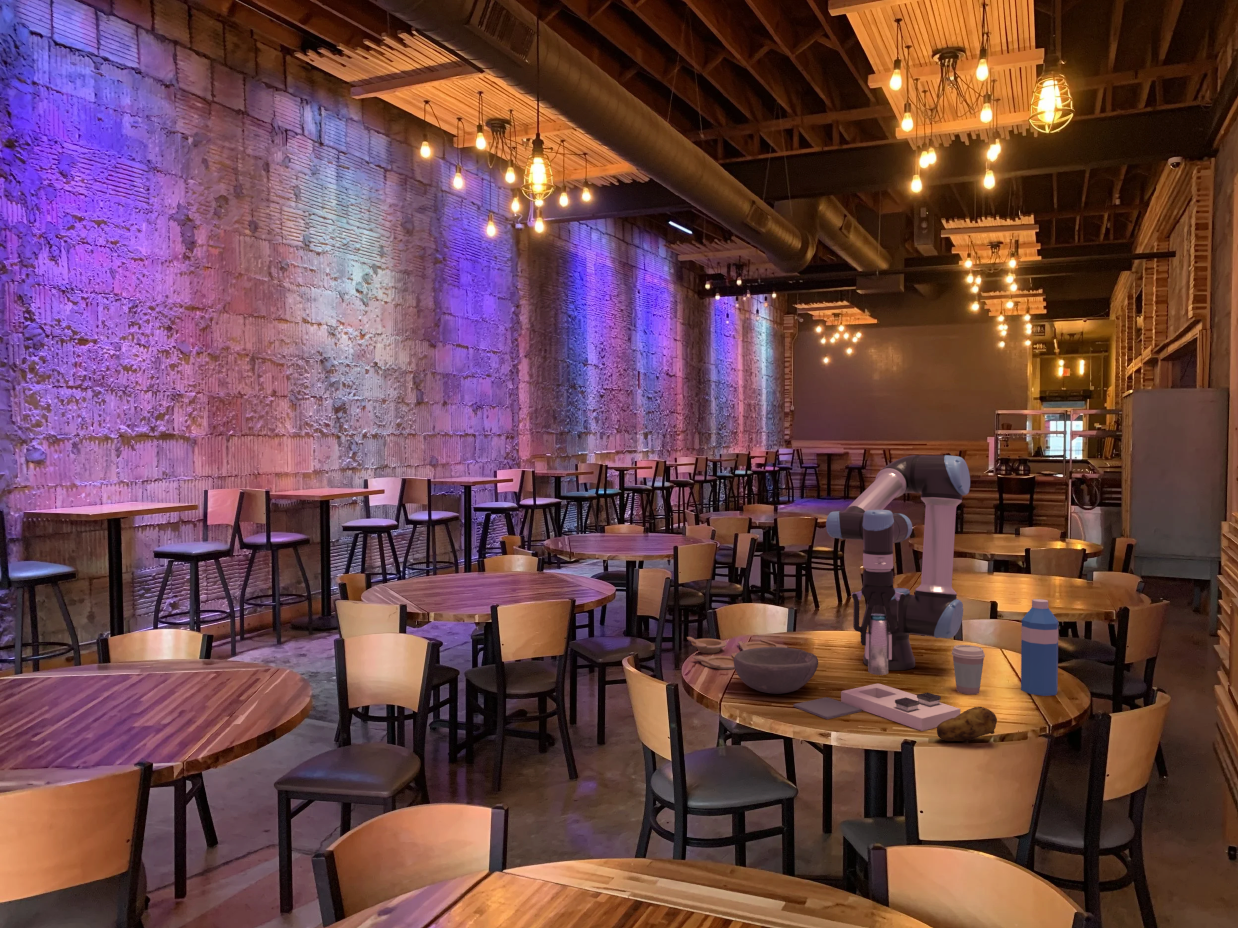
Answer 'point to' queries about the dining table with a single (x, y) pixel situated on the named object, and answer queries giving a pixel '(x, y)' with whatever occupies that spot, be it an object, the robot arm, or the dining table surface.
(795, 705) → the mat
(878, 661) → the cylinder
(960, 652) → the coffee cup
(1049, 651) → the water bottle
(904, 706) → the plunger near
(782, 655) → the bowl
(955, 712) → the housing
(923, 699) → the dark topped block
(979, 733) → the potato
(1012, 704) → the dining table surface
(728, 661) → the tableware set
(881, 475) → the robot arm
